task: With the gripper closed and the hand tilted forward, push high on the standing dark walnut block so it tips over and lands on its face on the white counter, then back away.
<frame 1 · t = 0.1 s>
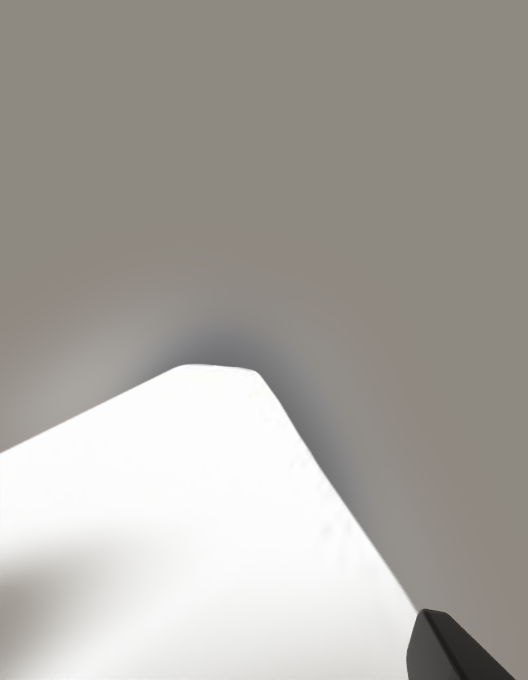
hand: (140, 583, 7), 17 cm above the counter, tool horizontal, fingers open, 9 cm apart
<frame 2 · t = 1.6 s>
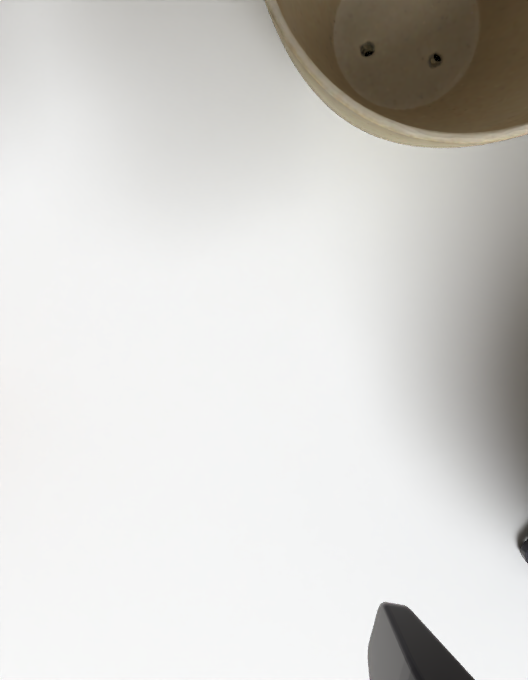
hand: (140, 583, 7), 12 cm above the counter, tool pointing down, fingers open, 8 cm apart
flower pot: (398, 39, 17), on the counter
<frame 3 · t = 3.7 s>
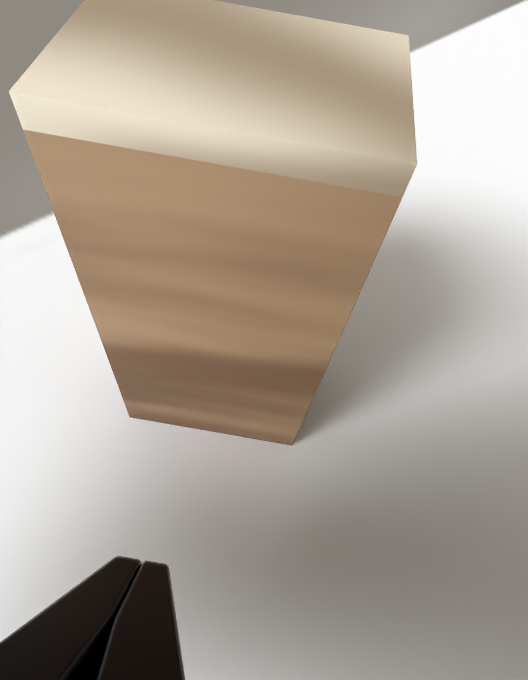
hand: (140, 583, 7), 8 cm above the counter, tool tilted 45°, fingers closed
walnut block: (221, 382, 18), on the counter
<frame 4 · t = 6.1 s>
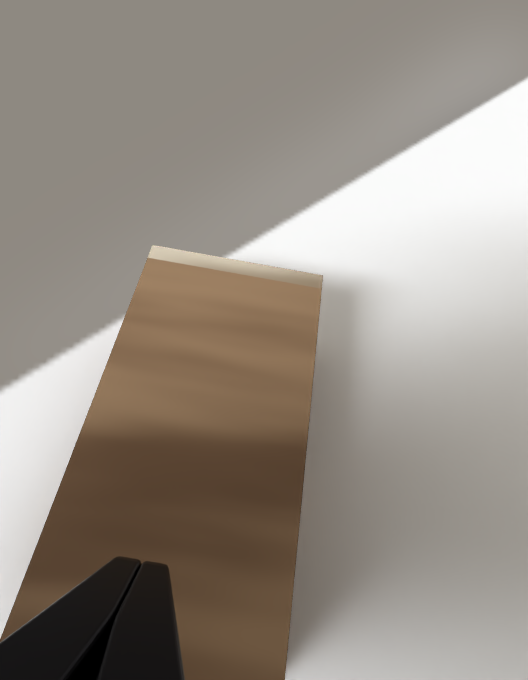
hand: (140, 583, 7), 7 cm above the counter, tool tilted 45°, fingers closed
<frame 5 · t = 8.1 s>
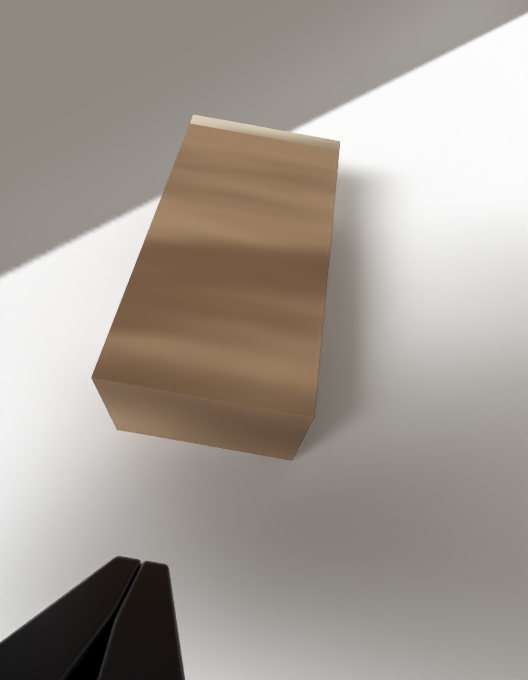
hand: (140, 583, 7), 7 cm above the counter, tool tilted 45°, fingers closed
walnut block: (203, 424, 14), point 2 cm above the counter, tilted 90°
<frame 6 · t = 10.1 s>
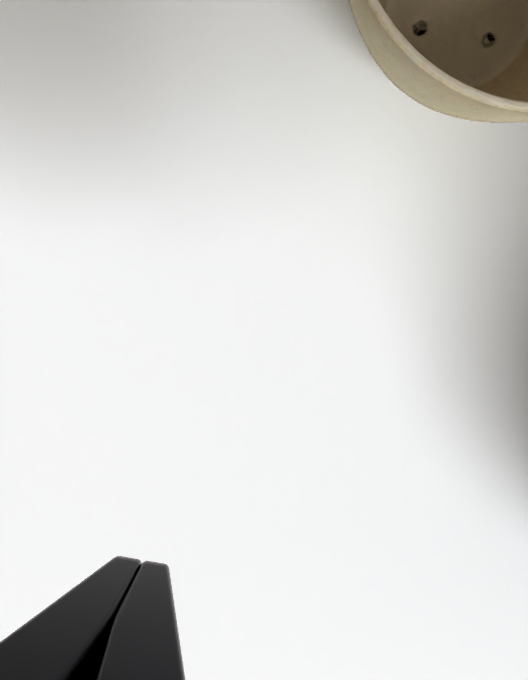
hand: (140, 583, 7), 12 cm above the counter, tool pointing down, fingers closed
flower pot: (450, 19, 16), on the counter
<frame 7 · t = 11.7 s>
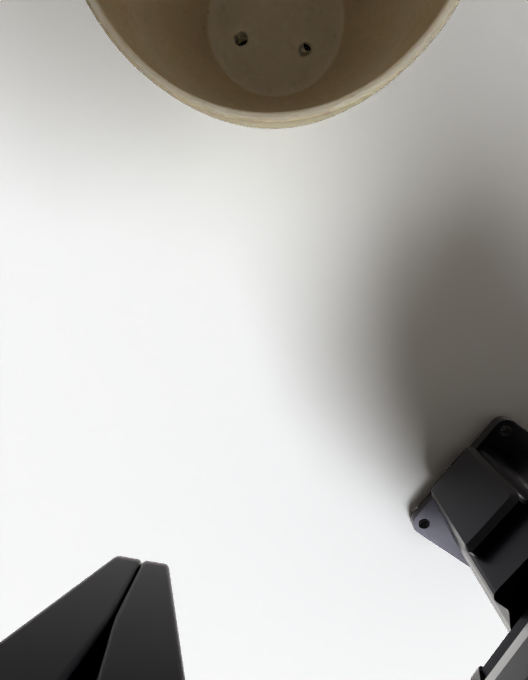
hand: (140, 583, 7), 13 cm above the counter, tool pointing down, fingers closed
flower pot: (274, 30, 17), on the counter
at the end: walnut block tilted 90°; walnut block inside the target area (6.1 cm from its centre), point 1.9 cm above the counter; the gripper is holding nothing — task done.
